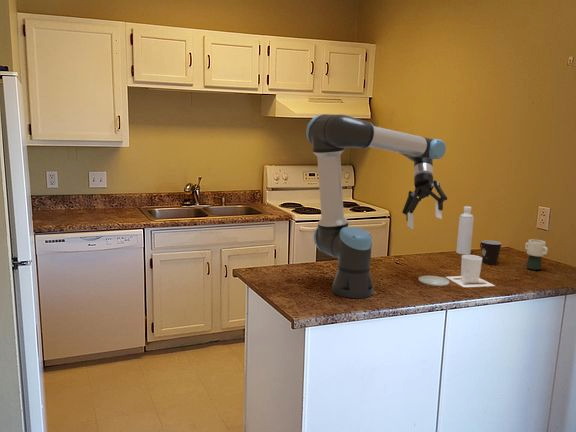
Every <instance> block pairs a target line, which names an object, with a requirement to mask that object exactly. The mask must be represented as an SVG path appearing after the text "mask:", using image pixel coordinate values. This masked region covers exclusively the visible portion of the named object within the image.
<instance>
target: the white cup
mask: <svg viewBox="0 0 576 432" xmlns="http://www.w3.org/2000/svg"><path fill="white" fill-rule="evenodd" d="M460 262H461V265H460V268H461V269H460V276H461V280H462V281H463V282H467V283H478V281H479V278H480V275H481V272H482V271H481V270H482V264H483V263H482V256H479V255H475V254H468V255H464V254H461V261H460Z"/></svg>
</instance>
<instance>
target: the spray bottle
mask: <svg viewBox="0 0 576 432" xmlns="http://www.w3.org/2000/svg"><path fill="white" fill-rule="evenodd" d="M471 212H472V206H463V213H461V214H460V215H459V219H458V222H459V223H458V227H457V228H458V231H457V239H456V241H457V243H456V254H459V255H471V252H472V251H471V250H472V240H473V233H474V230H473V229H474V219H475V217H474V215H473V214H471Z"/></svg>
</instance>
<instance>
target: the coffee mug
mask: <svg viewBox="0 0 576 432" xmlns="http://www.w3.org/2000/svg"><path fill="white" fill-rule="evenodd" d="M479 247H480V250H481V257H482V264H483V263H484V265H487V264H488V266H496V265H497V264H498V260H499V256H500V251H501V248H502V242H500V241H497V240H490V239H489V240H488V239H486V240H481V242H480V244H479Z"/></svg>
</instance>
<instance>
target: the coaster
mask: <svg viewBox="0 0 576 432" xmlns="http://www.w3.org/2000/svg"><path fill="white" fill-rule="evenodd" d="M418 282H420V283H421V284H424V285H427V286H433V287H434V286H435V287H444V286H445V287H446V286H448V285H450V280H449V279H448V278H446V277H442V276H437V275H421V276H419V277H418Z"/></svg>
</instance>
